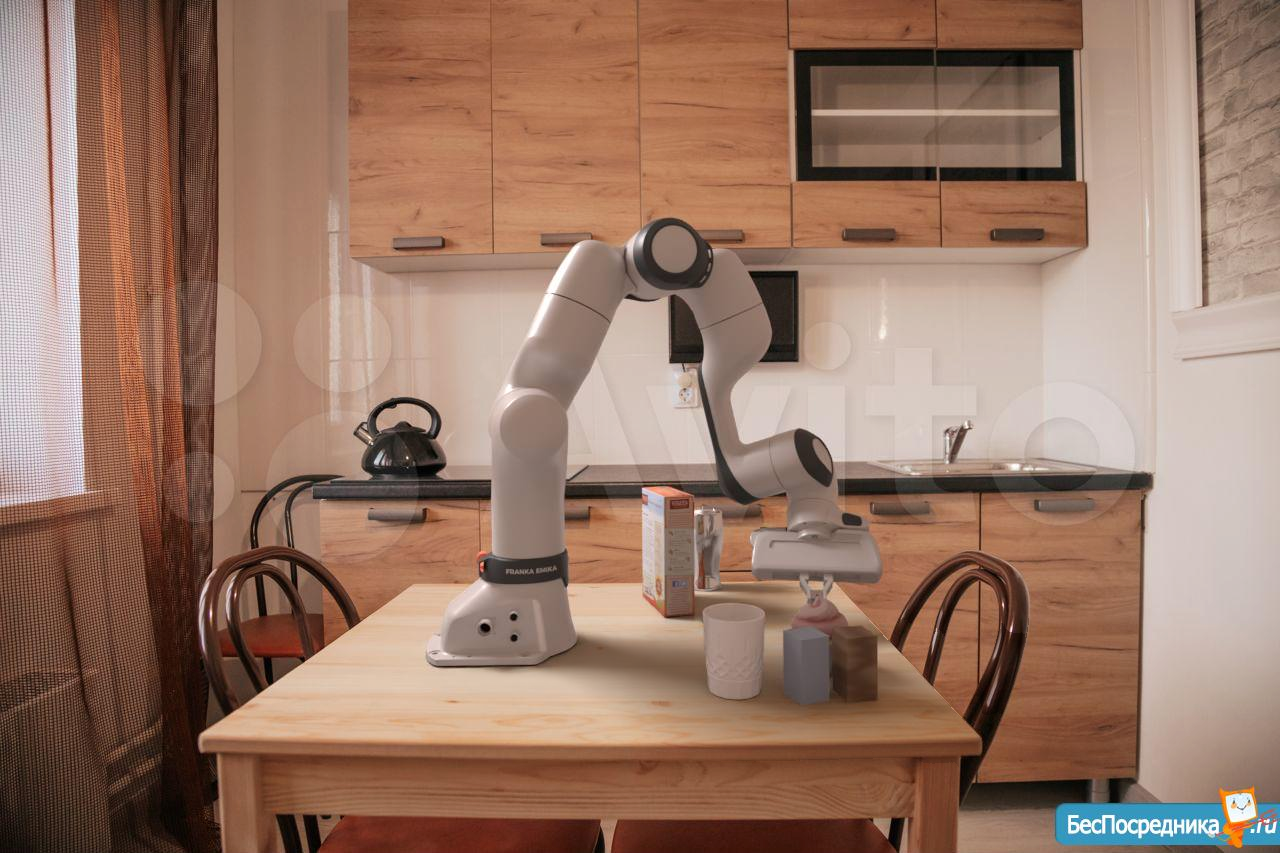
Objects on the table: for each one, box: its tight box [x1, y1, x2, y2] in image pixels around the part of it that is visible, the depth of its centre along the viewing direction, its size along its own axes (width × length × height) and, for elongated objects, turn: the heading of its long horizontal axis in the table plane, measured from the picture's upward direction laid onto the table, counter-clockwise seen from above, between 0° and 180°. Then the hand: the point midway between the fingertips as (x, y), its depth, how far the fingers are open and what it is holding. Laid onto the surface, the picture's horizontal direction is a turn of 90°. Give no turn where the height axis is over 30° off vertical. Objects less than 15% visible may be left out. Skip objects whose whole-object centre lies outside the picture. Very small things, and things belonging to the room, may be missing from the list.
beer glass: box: [694, 508, 724, 592], centre depth 137 cm, size 7×7×15 cm
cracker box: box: [641, 486, 696, 618], centre depth 125 cm, size 14×6×21 cm, turn 15°
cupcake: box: [790, 596, 850, 676], centre depth 95 cm, size 9×9×10 cm
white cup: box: [702, 602, 766, 701], centre depth 89 cm, size 8×8×10 cm
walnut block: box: [831, 625, 879, 704], centre depth 86 cm, size 4×4×8 cm
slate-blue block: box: [782, 626, 830, 706], centre depth 86 cm, size 4×4×8 cm
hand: (817, 603), depth 106 cm, fingers closed
